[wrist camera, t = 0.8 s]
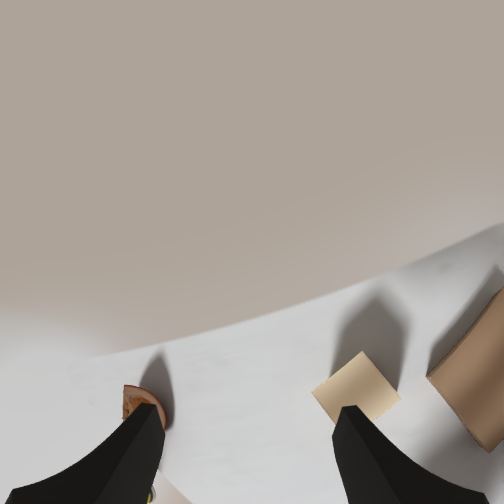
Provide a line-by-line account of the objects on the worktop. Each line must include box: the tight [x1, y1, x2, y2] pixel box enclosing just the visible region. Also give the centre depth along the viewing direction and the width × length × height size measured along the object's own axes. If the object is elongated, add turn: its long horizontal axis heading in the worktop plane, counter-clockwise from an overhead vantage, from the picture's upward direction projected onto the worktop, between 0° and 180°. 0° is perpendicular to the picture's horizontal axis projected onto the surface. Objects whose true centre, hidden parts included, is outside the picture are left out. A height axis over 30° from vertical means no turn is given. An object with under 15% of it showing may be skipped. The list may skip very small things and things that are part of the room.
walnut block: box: [426, 287, 504, 453], centre depth 14 cm, size 10×10×3 cm
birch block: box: [311, 351, 401, 425], centre depth 18 cm, size 4×4×6 cm
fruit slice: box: [122, 385, 166, 430], centre depth 26 cm, size 8×7×5 cm
